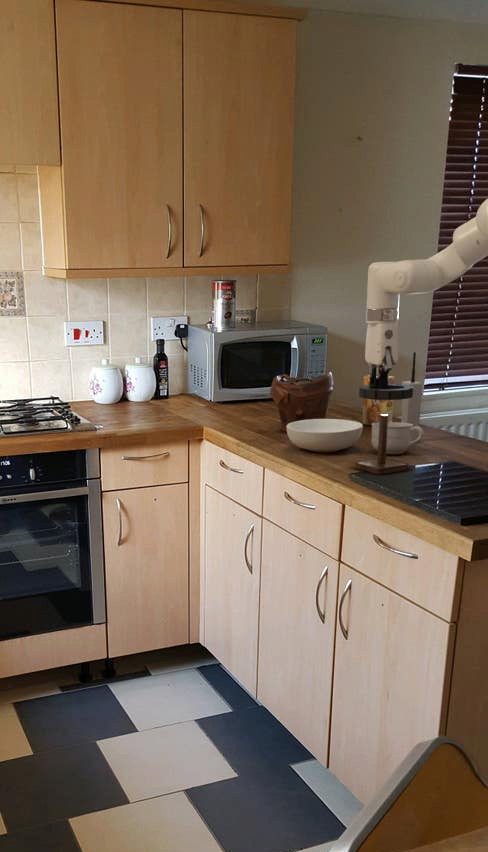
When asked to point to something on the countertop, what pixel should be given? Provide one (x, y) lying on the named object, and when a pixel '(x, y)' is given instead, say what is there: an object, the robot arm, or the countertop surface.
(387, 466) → the post
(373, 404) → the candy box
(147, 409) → the countertop surface
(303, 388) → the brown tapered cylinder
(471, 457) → the countertop surface
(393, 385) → the ring
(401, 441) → the teacup
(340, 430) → the serving bowl
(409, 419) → the vintage mobile phone
